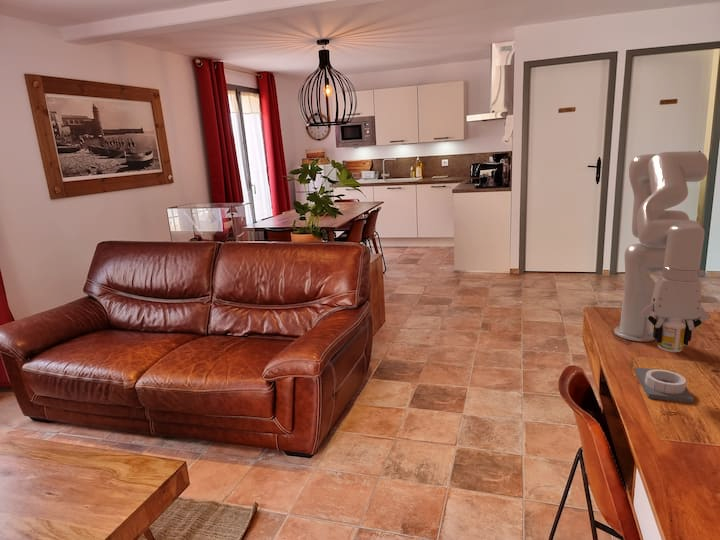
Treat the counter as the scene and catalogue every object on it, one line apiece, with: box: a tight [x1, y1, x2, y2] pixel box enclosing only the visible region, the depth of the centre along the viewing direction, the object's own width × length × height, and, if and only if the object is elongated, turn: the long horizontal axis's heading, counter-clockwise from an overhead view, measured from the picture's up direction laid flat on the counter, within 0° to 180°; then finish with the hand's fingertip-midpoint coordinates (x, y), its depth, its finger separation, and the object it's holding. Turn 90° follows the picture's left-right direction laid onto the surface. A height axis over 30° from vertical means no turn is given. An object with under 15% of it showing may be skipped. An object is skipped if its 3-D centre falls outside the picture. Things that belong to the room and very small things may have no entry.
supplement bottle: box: [657, 318, 686, 353], centre depth 125 cm, size 5×5×10 cm
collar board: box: [634, 367, 695, 404], centre depth 130 cm, size 16×10×4 cm, turn 162°
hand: (670, 341), depth 125 cm, fingers closed on supplement bottle, 5 cm apart
